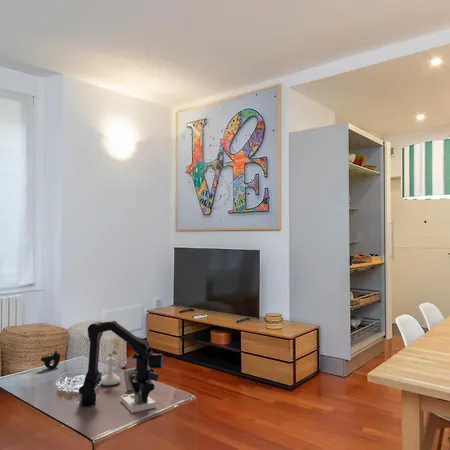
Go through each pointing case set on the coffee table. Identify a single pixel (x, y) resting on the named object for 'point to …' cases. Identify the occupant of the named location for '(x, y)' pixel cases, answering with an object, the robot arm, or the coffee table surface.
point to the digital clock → (126, 375)
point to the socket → (133, 406)
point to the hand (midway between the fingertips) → (140, 399)
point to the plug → (138, 398)
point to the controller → (49, 358)
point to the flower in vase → (110, 376)
